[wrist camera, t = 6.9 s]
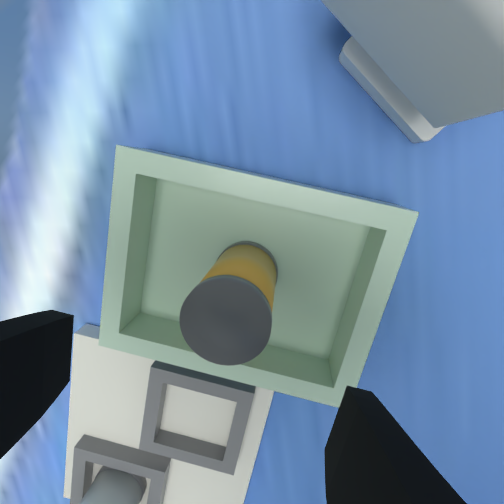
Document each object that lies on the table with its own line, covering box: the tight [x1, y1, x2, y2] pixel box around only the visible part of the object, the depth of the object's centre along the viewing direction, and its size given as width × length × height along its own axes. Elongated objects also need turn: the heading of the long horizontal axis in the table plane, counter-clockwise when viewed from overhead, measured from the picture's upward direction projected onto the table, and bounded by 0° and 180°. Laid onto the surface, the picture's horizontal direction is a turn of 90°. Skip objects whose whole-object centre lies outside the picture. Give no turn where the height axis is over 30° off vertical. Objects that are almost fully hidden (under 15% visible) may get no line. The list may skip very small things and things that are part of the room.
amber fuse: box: [179, 241, 278, 366], centre depth 14 cm, size 3×3×6 cm
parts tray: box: [98, 145, 419, 408], centre depth 16 cm, size 13×10×3 cm
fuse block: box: [64, 324, 274, 504], centre depth 20 cm, size 12×13×2 cm
